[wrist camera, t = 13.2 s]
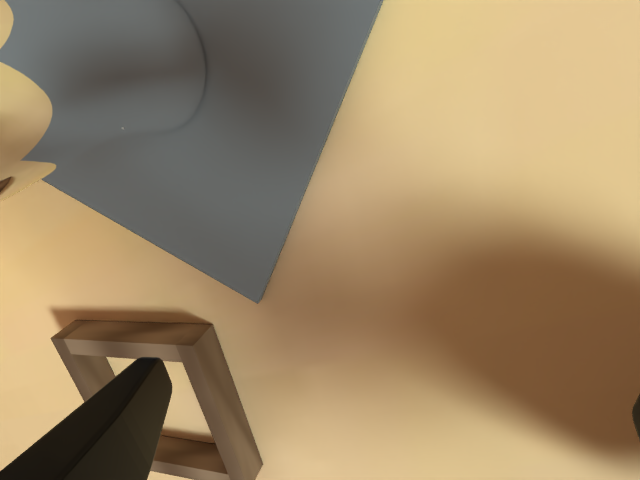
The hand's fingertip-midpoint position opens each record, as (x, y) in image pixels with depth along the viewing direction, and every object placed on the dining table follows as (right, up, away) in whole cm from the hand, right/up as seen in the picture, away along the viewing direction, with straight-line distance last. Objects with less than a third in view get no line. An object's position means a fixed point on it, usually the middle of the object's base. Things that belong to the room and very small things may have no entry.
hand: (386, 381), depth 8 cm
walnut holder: (-12, -8, +22) cm, 26 cm away
